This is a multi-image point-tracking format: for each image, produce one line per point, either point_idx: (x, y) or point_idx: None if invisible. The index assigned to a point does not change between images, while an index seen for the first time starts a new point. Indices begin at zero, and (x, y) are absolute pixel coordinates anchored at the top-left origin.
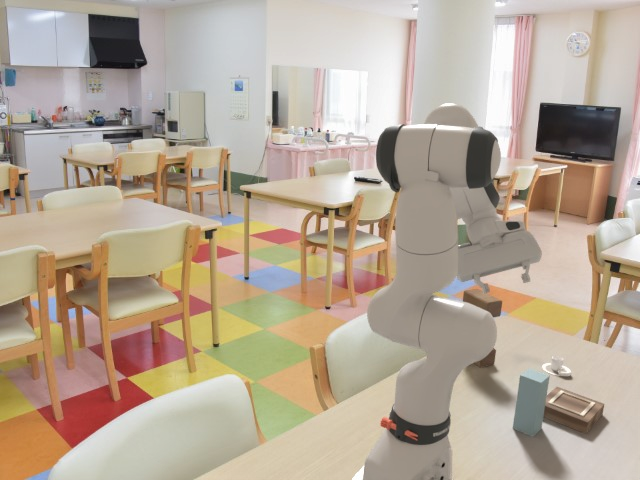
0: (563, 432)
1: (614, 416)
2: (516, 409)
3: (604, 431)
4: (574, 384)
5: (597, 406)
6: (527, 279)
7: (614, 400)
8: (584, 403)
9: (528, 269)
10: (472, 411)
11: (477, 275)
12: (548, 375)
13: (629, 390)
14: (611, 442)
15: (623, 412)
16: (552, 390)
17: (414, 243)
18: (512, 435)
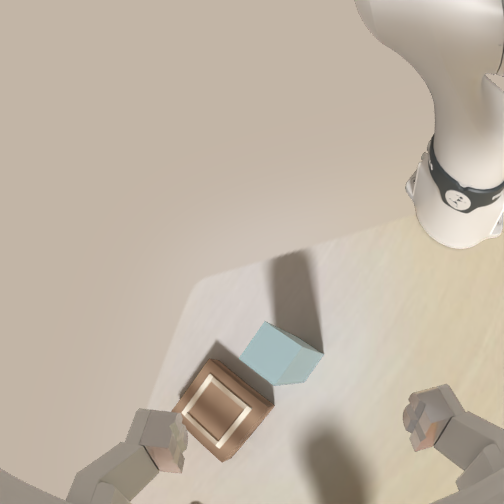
0: None
1: (168, 407)
2: (316, 351)
3: (193, 369)
4: (192, 490)
5: (181, 405)
6: (156, 410)
7: None
8: (196, 412)
9: (107, 454)
10: (383, 390)
11: (500, 458)
12: (241, 358)
13: None
14: (194, 343)
15: None
16: (232, 450)
17: None
18: (327, 332)
